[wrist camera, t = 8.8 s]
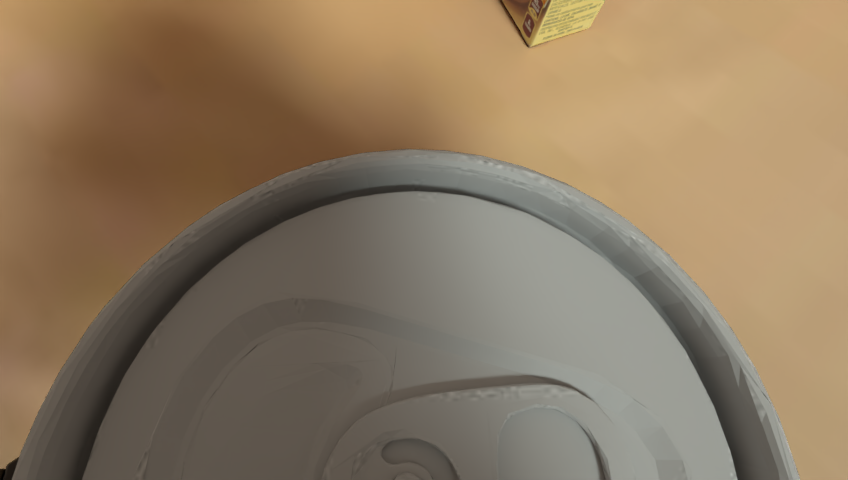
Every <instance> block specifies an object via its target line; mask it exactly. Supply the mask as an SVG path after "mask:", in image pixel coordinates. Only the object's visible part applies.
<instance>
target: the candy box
mask: <svg viewBox="0 0 848 480" xmlns="http://www.w3.org/2000/svg"><path fill="white" fill-rule="evenodd" d="M604 1H605V0H502V2H503V3H504V5H505V7H506V8H507V10H508V11H509V13H510V15H511V16H512V18H513V20H514V21H515V23H516V25H517V26H518V28H519V29H520V31H521V33H522V36H523V38H524V40H525V42H526V43H527V45H528V46H529V47H533V46H536V45H539V44H542V43H544V42H547V41H550V40H554V39H557V38H560V37H564V36H567V35H570V34H573V33H576V32H579V31H582V30H586V29H588V28H589V27H590V26H591V24H592V22H593V21H594V19H595V17H596V15H597V14H598V12H599V10H600V9H601V7H602V5H603V3H604Z"/></svg>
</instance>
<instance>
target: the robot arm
mask: <svg viewBox="0 0 848 480" xmlns="http://www.w3.org/2000/svg"><path fill="white" fill-rule="evenodd" d="M19 457H20V456H19ZM19 457H18V458H16V459H15V460H13V461H12V462H10V463H9V464H8V465H7V466H6V469H0V480H12V477H13V475H14V472H15V469H16V466H17V463H18V460H19Z"/></svg>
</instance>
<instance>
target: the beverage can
mask: <svg viewBox="0 0 848 480" xmlns="http://www.w3.org/2000/svg"><path fill="white" fill-rule="evenodd" d="M12 480H800V477H799V474H798V471H797V468H796V465H795V463H794V460H793V457H792V454H791V451H790V448H789V445H788V442H787V439H786V436H785V434H784V431H783V428H782V425H781V422H780V419H779V417H778V415H777V412H776V410H775V408H774V406H773V404H772V402H771V400H770V398H769V396H768V394H767V391H766V389H765V387H764V385H763V383H762V381H761V379H760V377H759V375H758V372H757V370H756V368H755V367H754V365H753V363H752V362H751V360H750V358H749V357H748V355H747V353H746V352H745V350H744V349H743V347H742V345H741V344H740V342H739V340H738V339H737V337H736V335H735V334H734V332H733V330H732V329H731V327H730V326H729V325H728V323H727V322H726V321H725V319H724V318H723V317H722V315H721V314H720V313H719V311H718V310H717V309H716V307H715V306H714V305H713V303H712V302H711V301H710V299H709V298H708V297H707V295H706V294H705V293H704V292H703V291H702V289H701V288H700V287H699V286H698V285H697V284H696V283H695V282H694V281H693V280H692V279H691V278H690V277H689V276H688V274H687V273H686V272H685V271H684V270H683V269H682V268H681V267H680V266H679V265H678V264H677V263H676V262H675V261H674V259H673V258H672V257H671V256H670V255H669V254H668V253H666V252H665V251H664V250H663V249H662V248H660V247H659V246H658V245H657V244H656V243H654V242H653V241H652V240H651V239H650V238H649V237H647V236H646V235H645V234H644V233H643V232H641V231H640V230H639V229H638V228H637V227H635V226H634V225H633V224H632V223H631V222H629V221H628V220H627V219H625V218H624V217H622V216H621V215H619V214H618V213H616V212H615V211H613V210H612V209H610V208H609V207H607V206H606V205H604V204H603V203H601V202H599V201H598V200H596V199H594V198H592V197H590V196H588V195H587V194H585V193H583V192H581V191H579V190H577V189H575V188H574V187H572V186H570V185H568V184H566V183H564V182H561V181H559V180H556V179H554V178H551V177H549V176H546V175H543V174H541V173H538V172H536V171H533V170H531V169H528V168H526V167H523V166H519V165H515V164H512V163H508V162H504V161H500V160H496V159H492V158H488V157H485V156H480V155H473V154H466V153H459V152H452V151H445V150H420V149H402V150H390V151H379V152H368V153H360V154H355V155H350V156H346V157H341V158H336V159H332V160H327V161H322V162H318V163H315V164H312V165H309V166H306V167H303V168H300V169H297V170H294V171H291V172H288V173H285V174H282V175H279V176H277V177H275V178H273V179H271V180H269V181H267V182H265V183H262V184H260V185H258V186H256V187H254V188H252V189H250V190H248V191H246V192H244V193H242V194H240V195H238V196H236V197H235V198H233V199H231V200H229V201H227V202H225V203H223V204H221V205H219V206H218V207H216V208H215V209H213V210H212V211H210V212H209V213H207V214H206V215H204V216H203V217H202V218H200V219H199V220H197V221H196V222H194V223H193V224H191V225H190V226H188V227H187V228H186V229H185V230H184V231H182V232H181V233H180V234H179V235H178V236H176V237H175V238H174V239H173V240H172V241H171V242H169V243H168V244H167V245H166V246H165V247H163V248H162V249H161V250H160V251H159V252H157V253H156V254H155V255H154V256H153V257H152V258H150V259H149V260H148V261H147V262H146V263H144V264H143V265H142V267H141V268H140V269H139V270H138V271H137V272H136V273H135V274H134V275H133V276H132V277H131V278H130V280H129V281H128V282H127V283H126V284H125V285H124V286H123V287H122V288H121V289H120V290H119V291H118V293H117V294H116V295H115V296H114V297H113V298H112V299H111V300H110V301H109V302H108V303H107V304H106V305H105V307H104V308H103V309H102V311H101V312H100V313H99V314H98V316H97V317H96V318H95V320H94V321H93V322H92V324H91V325H90V326H89V327H88V329H87V331H86V332H85V334H84V335H83V337H82V338H81V340H80V341H79V343H78V344H77V346H76V347H75V349H74V350H73V352H72V354H71V355H70V357H69V358H68V360H67V361H66V363H65V364H64V366H63V367H62V369H61V370H60V372H59V374H58V376H57V378H56V379H55V381H54V383H53V385H52V387H51V389H50V391H49V393H48V395H47V397H46V398H45V400H44V402H43V404H42V406H41V408H40V410H39V412H38V414H37V416H36V419H35V421H34V423H33V426H32V428H31V430H30V433H29V435H28V437H27V439H26V442H25V444H24V446H23V449H22V451H21V454H20V457H19V460H18V463H17V466H16V469H15V472H14V475H13V477H12Z"/></svg>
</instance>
